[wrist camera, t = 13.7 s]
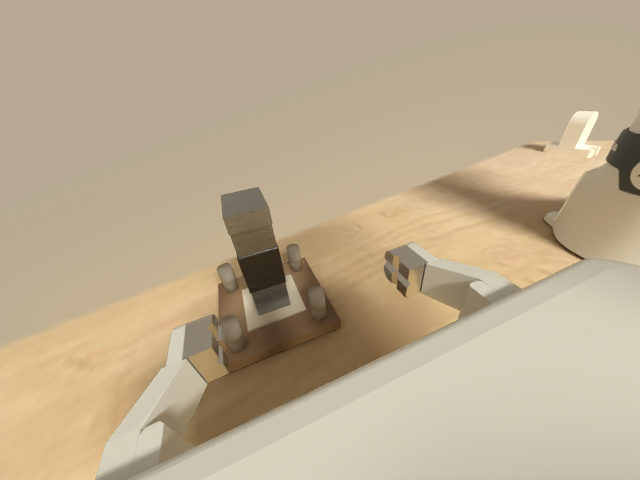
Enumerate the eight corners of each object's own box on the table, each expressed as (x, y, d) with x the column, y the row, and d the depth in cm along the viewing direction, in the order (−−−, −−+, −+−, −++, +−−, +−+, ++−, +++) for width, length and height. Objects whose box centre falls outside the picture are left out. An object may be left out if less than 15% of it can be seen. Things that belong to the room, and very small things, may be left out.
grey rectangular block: (282, 280, 30) (259, 186, 23) (293, 309, 26) (269, 206, 19) (252, 290, 29) (219, 195, 22) (259, 321, 25) (221, 218, 18)
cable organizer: (551, 148, 69) (568, 109, 63) (597, 154, 61) (621, 110, 56) (541, 151, 67) (558, 112, 61) (588, 158, 59) (612, 113, 54)
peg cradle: (305, 263, 35) (300, 237, 32) (340, 327, 25) (338, 297, 23) (221, 290, 32) (209, 263, 29) (225, 374, 22) (207, 345, 20)
